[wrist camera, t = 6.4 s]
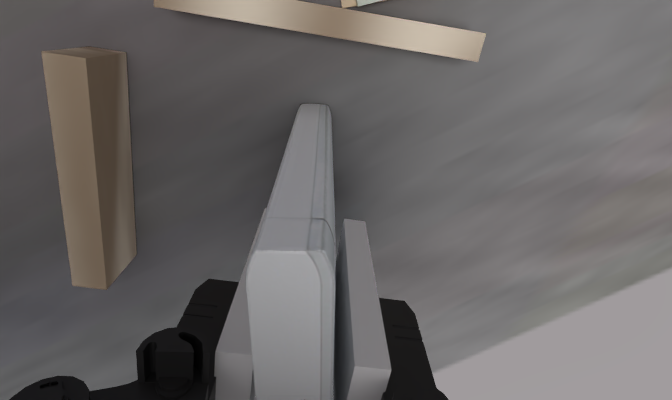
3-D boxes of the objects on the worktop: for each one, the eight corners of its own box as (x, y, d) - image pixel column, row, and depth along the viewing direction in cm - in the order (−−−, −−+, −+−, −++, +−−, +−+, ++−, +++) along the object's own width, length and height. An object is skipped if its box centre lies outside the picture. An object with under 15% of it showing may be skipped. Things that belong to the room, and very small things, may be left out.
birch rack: (107, 250, 21) (72, 285, 18) (82, -36, 15) (28, -49, 13) (399, 288, 22) (409, 327, 19) (469, 32, 17) (496, 34, 14)
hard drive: (332, 103, 18) (344, 250, 6) (329, 261, 21) (335, 541, 10) (294, 103, 18) (239, 250, 6) (298, 261, 21) (265, 543, 10)
